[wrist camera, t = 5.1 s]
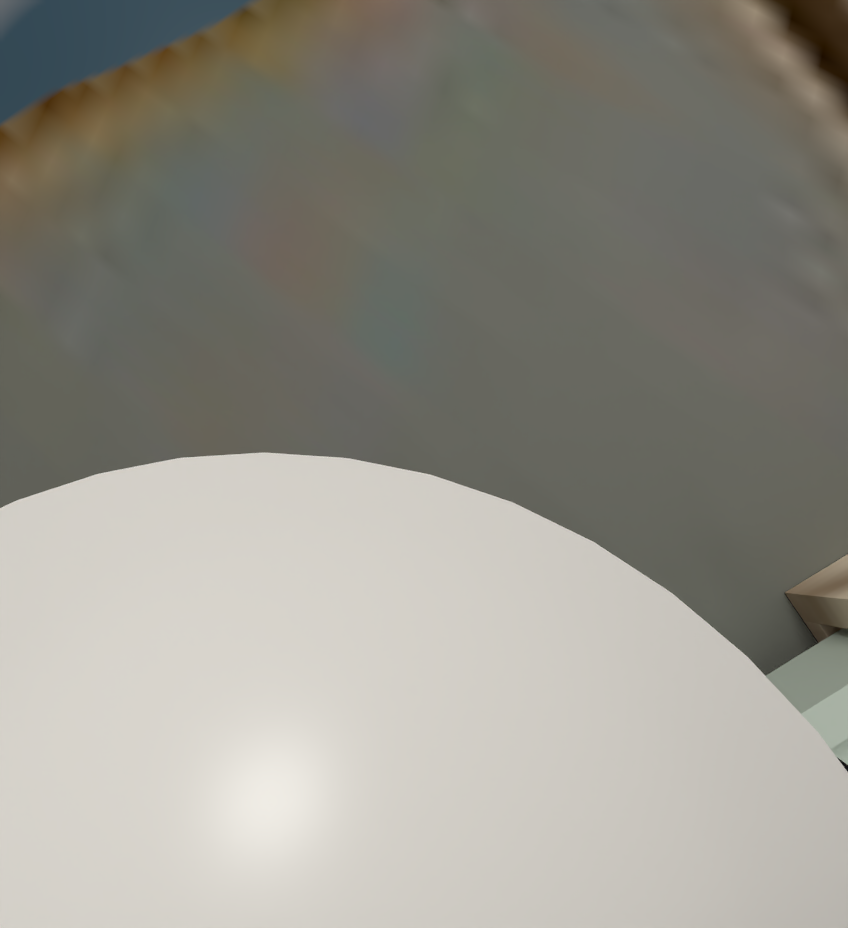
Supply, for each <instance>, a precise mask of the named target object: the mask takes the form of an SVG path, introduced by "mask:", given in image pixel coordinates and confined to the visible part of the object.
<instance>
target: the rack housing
mask: <svg viewBox="0 0 848 928" xmlns="http://www.w3.org/2000/svg"><path fill="white" fill-rule="evenodd" d="M785 594H786V595H787V597H788V598H789V600H790V601H791V603H792V604H793V606H794V607H795V609H796V610H797V612H798V613H799V615H800V616H801V618H802V619H803V621H804V622H805V623H806V625H807V626H808V628H809V629H810V631H811V632H812V634H813V635H814V637H815V638H816V640H817V641H818V643H819V642H821V641H823V640H824V639H826V638H828V637H829V636H831V635H832V634H834V633H836V632H837V631H839V630H840V629H842V628H845V629H848V554H847V555H846V556H844V557H842V558H841V559H839V560H838V561H836V562H834V563H833V564H831V565H829V566H828V567H826V568H824V569H823V570H821V571H820V572H818V573H816V574H815V575H813V576H811V577H810V578H808V579H806V580H805V581H803V582H801V583H800V584H798V585H797V586H795V587H793V588H792V589H790V590H788V591H787V592H785Z"/></svg>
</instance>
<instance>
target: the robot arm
mask: <svg viewBox="0 0 848 928" xmlns="http://www.w3.org/2000/svg"><path fill="white" fill-rule="evenodd" d="M838 760H839V761H840V762H841V764H842V765H843V766H844V768H845V769H846V770H847V772H848V765H847V764H846V763H844V762H843V761H842V760H840V759H839V758H838Z"/></svg>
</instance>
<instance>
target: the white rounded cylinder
mask: <svg viewBox="0 0 848 928" xmlns="http://www.w3.org/2000/svg"><path fill="white" fill-rule="evenodd" d="M0 928H848V772H847V770H846V769H845V768H844V766H843V765H842V764H841V762H840V761H839V760H838V758H837V757H836V756H835V754H834V753H833V752H832V750H831V749H830V748H829V746H828V745H827V744H826V742H825V741H824V739H823V738H822V737H821V735H820V734H819V733H818V732H817V731H816V729H815V728H814V727H813V726H812V725H811V724H810V723H809V722H808V721H807V720H806V719H805V718H804V717H803V716H802V715H801V713H800V712H799V711H798V710H797V709H796V708H795V707H794V706H793V705H792V704H791V703H790V702H789V701H788V700H787V699H786V697H785V696H784V695H783V694H782V693H781V692H780V691H779V690H778V689H777V688H776V687H775V686H774V685H773V684H772V683H771V681H770V680H769V679H768V678H767V677H766V676H765V675H764V674H763V673H762V672H761V671H760V670H759V669H758V668H757V667H756V665H755V664H754V663H753V662H752V661H751V660H750V659H749V658H748V657H747V656H746V655H745V654H744V653H742V652H741V651H740V650H739V649H738V648H736V647H735V646H734V645H733V644H732V643H730V642H729V641H728V640H727V639H726V638H725V637H723V636H722V635H721V634H720V633H719V632H717V631H716V630H715V629H714V628H713V627H711V626H710V625H709V624H708V623H707V622H706V621H704V620H703V619H702V618H701V617H700V616H698V615H697V614H696V613H695V612H694V611H692V610H691V609H690V608H689V607H688V606H687V605H685V604H684V603H683V602H682V601H681V600H679V599H678V598H677V597H676V596H675V595H674V594H672V593H671V592H669V591H668V590H666V589H665V588H663V587H662V586H660V585H659V584H657V583H656V582H654V581H653V580H651V579H649V578H648V577H646V576H645V575H643V574H642V573H640V572H639V571H637V570H636V569H634V568H633V567H631V566H630V565H628V564H627V563H625V562H623V561H622V560H620V559H619V558H617V557H616V556H614V555H613V554H611V553H610V552H608V551H607V550H605V549H604V548H602V547H601V546H599V545H597V544H596V543H594V542H593V541H591V540H589V539H587V538H584V537H582V536H580V535H578V534H576V533H574V532H572V531H570V530H568V529H566V528H564V527H562V526H560V525H558V524H556V523H554V522H552V521H550V520H548V519H546V518H543V517H541V516H539V515H537V514H535V513H533V512H531V511H529V510H527V509H525V508H523V507H521V506H519V505H517V504H515V503H513V502H510V501H507V500H504V499H501V498H498V497H495V496H492V495H489V494H486V493H483V492H480V491H477V490H474V489H471V488H468V487H465V486H462V485H459V484H456V483H454V482H451V481H448V480H445V479H442V478H439V477H436V476H433V475H430V474H425V473H419V472H414V471H409V470H404V469H399V468H394V467H389V466H384V465H379V464H374V463H369V462H364V461H359V460H354V459H349V458H338V457H322V456H307V455H292V454H277V453H250V454H234V455H219V456H203V457H188V458H178V459H172V460H167V461H162V462H157V463H152V464H147V465H142V466H136V467H131V468H126V469H121V470H116V471H111V472H106V473H100V474H96V475H93V476H90V477H87V478H84V479H81V480H78V481H75V482H72V483H69V484H66V485H63V486H60V487H57V488H53V489H50V490H47V491H44V492H41V493H38V494H35V495H32V496H29V497H26V498H23V499H20V500H17V501H15V502H12V503H10V504H8V505H6V506H4V507H2V508H0Z"/></svg>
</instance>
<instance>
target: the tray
mask: <svg viewBox="0 0 848 928" xmlns="http://www.w3.org/2000/svg"><path fill="white" fill-rule="evenodd" d="M766 677H767V678H768V679H769V680H770V681H771V683H772V684H773V685H774V686H775V687H776V688H777V689H778V690H779V691H780V692H781V693H782V694H783V695H784V696H785V697H786V699H787V700H788V701H789V702H790V703H791V704H792V705H793V706H794V707H795V708H796V709H797V710H798V711H799V712H800V713H801V715H802V716H803V717H804V718H805V719H806V720H807V721H808V722H809V723H810V724H811V725H812V726H813V727H814V728H815V729H816V731H817V732H818V733H819V734H820V735H821V737H822V738H823V739H824V741H825V742H826V744H827V745H828V746H829V748H830V749H831V750H832V752H833V753H834V754H835V756H836V757H837V758H839V759H840V760H842V761H843V762H844V763H846V764H847V765H848V629H845V628H842V629H840V630H839V631H837V632H836V633H834V634H832V635H831V636H829V637H828V638H826V639H824V640H823V641H821V642H819V643H818V644H816V645H815V646H813V647H811V648H810V649H808V650H807V651H805V652H803V653H802V654H800V655H798V656H797V657H795V658H794V659H792V660H790V661H789V662H787V663H786V664H784V665H782V666H781V667H779V668H777V669H776V670H774V671H773V672H771V673H769V674H768V675H766Z"/></svg>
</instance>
